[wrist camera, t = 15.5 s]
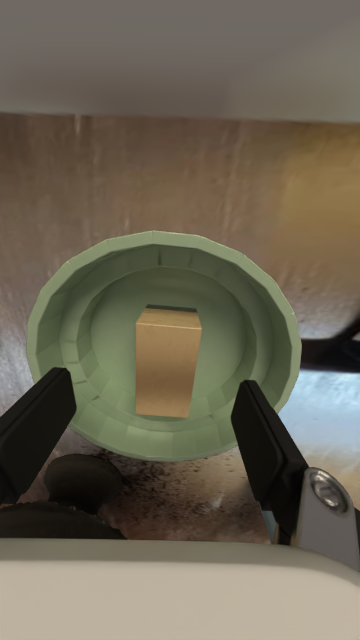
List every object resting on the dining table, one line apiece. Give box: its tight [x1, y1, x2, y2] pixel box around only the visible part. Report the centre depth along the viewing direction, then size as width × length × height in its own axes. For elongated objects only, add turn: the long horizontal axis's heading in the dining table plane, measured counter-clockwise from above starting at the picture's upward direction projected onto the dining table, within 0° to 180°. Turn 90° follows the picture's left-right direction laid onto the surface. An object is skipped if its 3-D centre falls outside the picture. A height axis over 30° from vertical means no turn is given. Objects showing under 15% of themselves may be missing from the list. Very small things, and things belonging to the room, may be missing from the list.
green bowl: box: [26, 231, 302, 462], centre depth 14 cm, size 17×17×5 cm
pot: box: [0, 454, 128, 540], centre depth 15 cm, size 18×18×20 cm
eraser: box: [136, 304, 202, 418], centre depth 13 cm, size 8×4×4 cm, turn 175°
